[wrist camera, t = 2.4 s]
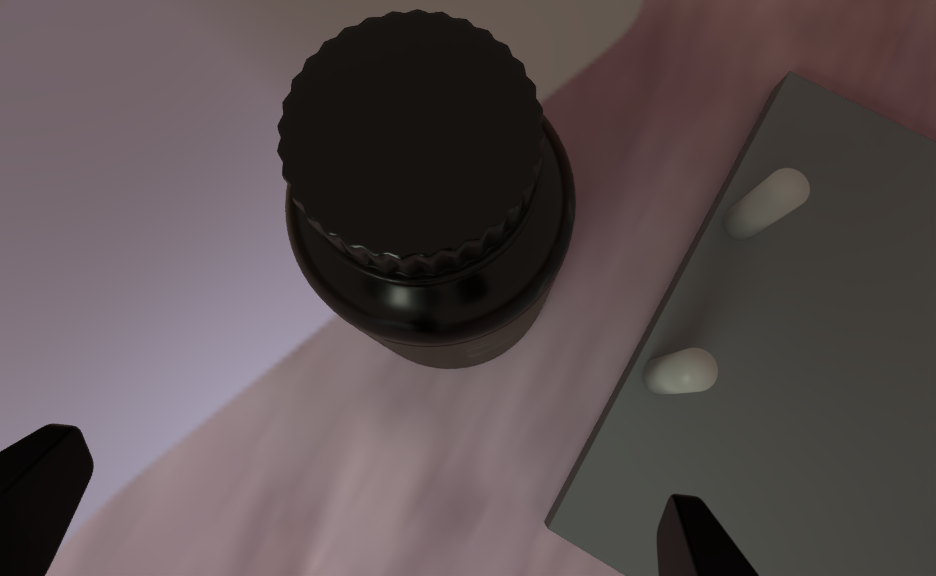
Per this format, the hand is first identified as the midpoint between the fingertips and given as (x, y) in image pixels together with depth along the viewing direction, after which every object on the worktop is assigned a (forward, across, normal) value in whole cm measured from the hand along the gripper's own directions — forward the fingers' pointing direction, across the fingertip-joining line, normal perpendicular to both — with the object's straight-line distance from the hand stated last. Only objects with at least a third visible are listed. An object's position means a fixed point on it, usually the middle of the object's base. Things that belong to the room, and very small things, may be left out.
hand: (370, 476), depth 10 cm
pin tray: (+11, -14, +6) cm, 19 cm away
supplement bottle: (+13, 0, +5) cm, 14 cm away
